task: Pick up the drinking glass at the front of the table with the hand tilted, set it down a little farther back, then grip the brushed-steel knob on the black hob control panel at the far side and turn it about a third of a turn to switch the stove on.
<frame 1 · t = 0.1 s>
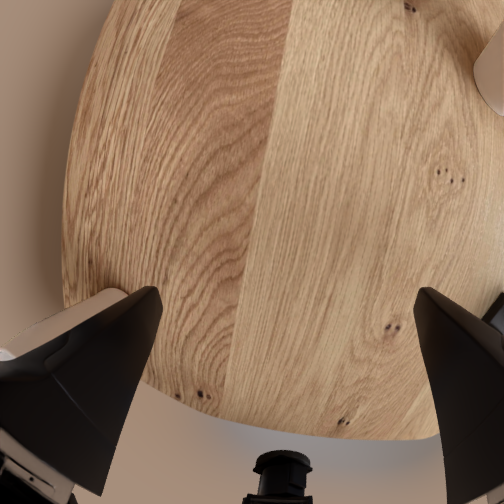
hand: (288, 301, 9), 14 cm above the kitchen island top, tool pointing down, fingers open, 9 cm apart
cup: (495, 86, 16), on the kitchen island top
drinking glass: (120, 308, 27), on the kitchen island top
hob panel: (489, 346, 22), on the kitchen island top
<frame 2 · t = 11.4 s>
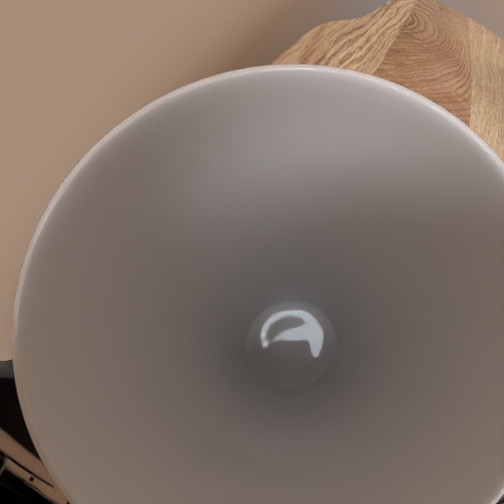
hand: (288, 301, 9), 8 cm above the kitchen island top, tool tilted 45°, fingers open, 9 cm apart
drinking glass: (291, 344, 16), on the kitchen island top
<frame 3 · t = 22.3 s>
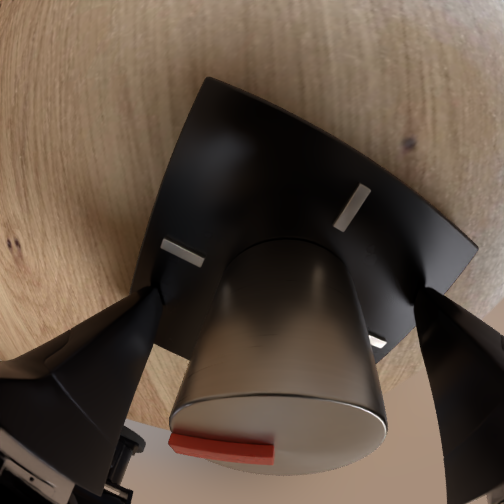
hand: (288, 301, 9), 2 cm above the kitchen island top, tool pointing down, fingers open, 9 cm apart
hob knob: (283, 365, 7), point 4 cm above the kitchen island top, hinge at 120.7°
hob panel: (287, 275, 10), on the kitchen island top
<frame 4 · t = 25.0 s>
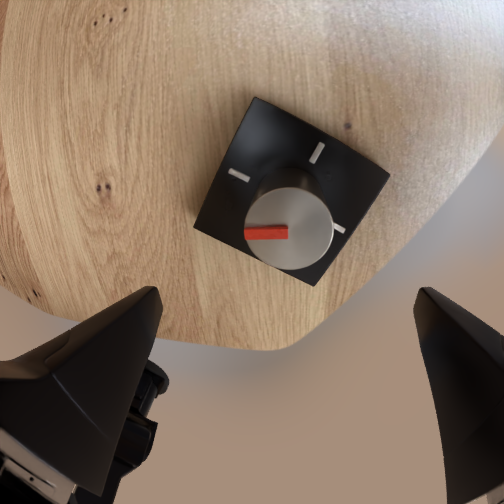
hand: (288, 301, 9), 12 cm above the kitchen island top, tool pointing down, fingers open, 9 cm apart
hob knob: (289, 214, 16), point 4 cm above the kitchen island top, hinge at 120.7°
hob panel: (289, 193, 19), on the kitchen island top
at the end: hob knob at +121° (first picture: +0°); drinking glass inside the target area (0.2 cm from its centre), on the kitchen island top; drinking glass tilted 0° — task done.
